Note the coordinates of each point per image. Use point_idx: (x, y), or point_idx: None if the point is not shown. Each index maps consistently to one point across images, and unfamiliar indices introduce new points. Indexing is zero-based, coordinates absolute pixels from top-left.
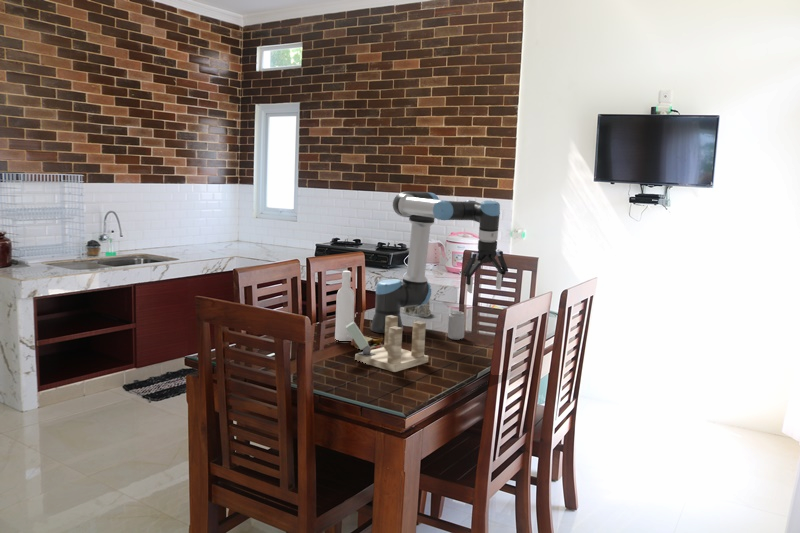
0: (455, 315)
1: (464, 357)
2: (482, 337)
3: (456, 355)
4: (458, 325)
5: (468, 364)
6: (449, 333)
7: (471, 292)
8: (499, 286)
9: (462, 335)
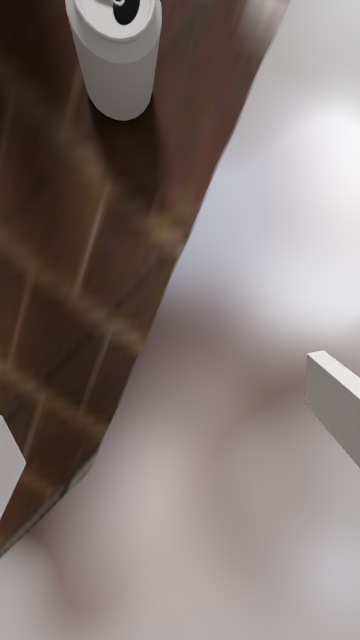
0: (94, 36)
1: (76, 348)
2: (228, 93)
3: (56, 326)
4: (114, 89)
5: (68, 414)
6: (85, 83)
7: (18, 469)
8: (324, 424)
9: (138, 110)
